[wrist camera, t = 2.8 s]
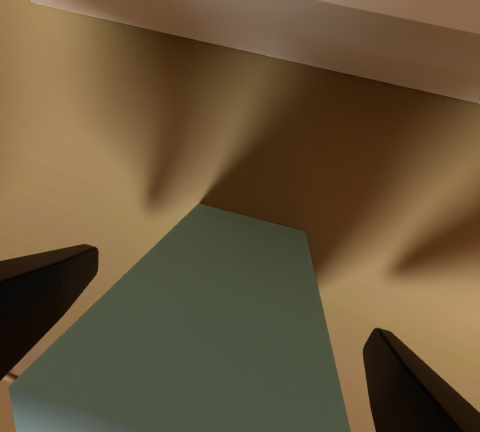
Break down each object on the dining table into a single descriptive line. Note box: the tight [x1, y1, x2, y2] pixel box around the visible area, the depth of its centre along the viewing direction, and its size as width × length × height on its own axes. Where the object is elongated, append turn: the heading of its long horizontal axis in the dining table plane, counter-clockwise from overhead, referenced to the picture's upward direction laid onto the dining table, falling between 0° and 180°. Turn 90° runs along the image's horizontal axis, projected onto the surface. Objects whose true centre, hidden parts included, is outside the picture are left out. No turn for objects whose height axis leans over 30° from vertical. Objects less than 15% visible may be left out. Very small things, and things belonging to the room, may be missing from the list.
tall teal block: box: [9, 204, 351, 432], centre depth 7 cm, size 4×4×7 cm
